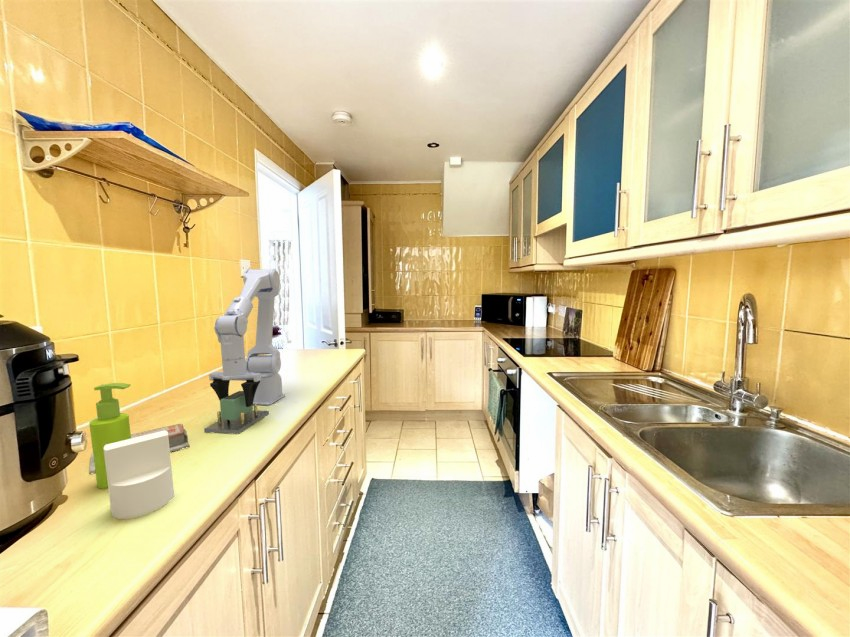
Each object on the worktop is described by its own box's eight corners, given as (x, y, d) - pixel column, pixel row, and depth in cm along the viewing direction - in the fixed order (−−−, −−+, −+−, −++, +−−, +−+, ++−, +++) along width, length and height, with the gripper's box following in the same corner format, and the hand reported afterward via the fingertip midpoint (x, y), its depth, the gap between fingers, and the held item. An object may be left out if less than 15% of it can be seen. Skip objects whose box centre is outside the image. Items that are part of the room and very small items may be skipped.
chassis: (238, 412, 109) (237, 399, 109) (269, 414, 108) (268, 400, 107) (204, 432, 95) (203, 417, 95) (238, 434, 94) (237, 418, 94)
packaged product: (182, 418, 94) (188, 430, 86) (184, 436, 94) (190, 449, 87) (88, 439, 82) (86, 455, 75) (91, 459, 83) (89, 477, 75)
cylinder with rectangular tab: (170, 483, 72) (164, 425, 70) (178, 503, 65) (171, 439, 64) (110, 502, 65) (103, 439, 64) (112, 526, 59) (103, 457, 58)
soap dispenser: (129, 486, 71) (117, 387, 68) (89, 490, 69) (76, 390, 67) (147, 470, 76) (137, 379, 74) (110, 474, 75) (99, 381, 73)
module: (240, 409, 105) (239, 389, 105) (253, 409, 105) (251, 390, 104) (221, 419, 98) (219, 399, 97) (234, 420, 97) (233, 399, 96)
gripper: (199, 360, 97) (203, 409, 98) (248, 361, 95) (252, 411, 96) (217, 355, 104) (221, 400, 105) (264, 356, 102) (267, 402, 103)
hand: (237, 405), depth 101 cm, fingers open, 7 cm apart
